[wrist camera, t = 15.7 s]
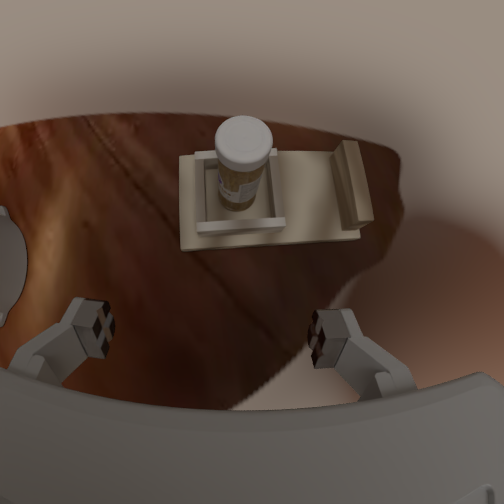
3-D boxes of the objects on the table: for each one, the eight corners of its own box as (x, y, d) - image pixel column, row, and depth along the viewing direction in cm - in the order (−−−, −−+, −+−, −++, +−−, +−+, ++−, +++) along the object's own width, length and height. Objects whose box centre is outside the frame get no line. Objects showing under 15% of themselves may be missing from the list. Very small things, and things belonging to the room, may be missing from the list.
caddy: (182, 251, 34) (172, 241, 28) (181, 161, 36) (173, 135, 29) (355, 240, 36) (379, 228, 30) (340, 157, 38) (358, 134, 32)
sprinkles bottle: (211, 187, 34) (204, 126, 21) (244, 171, 35) (255, 106, 22) (229, 219, 34) (231, 171, 20) (263, 202, 34) (284, 147, 21)
